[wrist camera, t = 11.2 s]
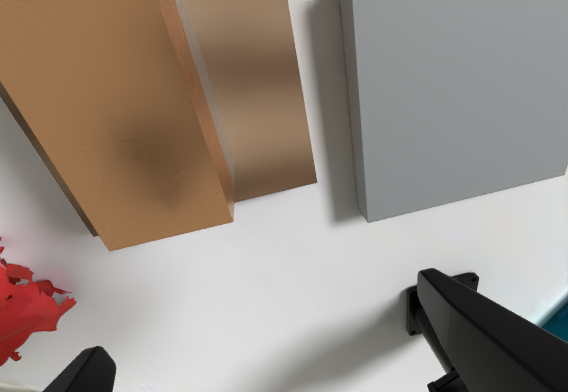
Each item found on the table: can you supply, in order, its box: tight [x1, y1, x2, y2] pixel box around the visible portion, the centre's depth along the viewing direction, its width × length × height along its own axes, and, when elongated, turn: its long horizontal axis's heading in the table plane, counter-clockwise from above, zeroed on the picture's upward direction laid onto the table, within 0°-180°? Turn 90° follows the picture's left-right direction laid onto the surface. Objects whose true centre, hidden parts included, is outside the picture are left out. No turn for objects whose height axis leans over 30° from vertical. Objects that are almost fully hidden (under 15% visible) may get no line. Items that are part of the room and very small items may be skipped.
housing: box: [0, 0, 235, 251], centre depth 12 cm, size 5×9×6 cm, turn 11°
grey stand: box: [340, 0, 568, 223], centre depth 18 cm, size 14×14×2 cm
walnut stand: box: [0, 0, 317, 237], centre depth 16 cm, size 14×14×2 cm
